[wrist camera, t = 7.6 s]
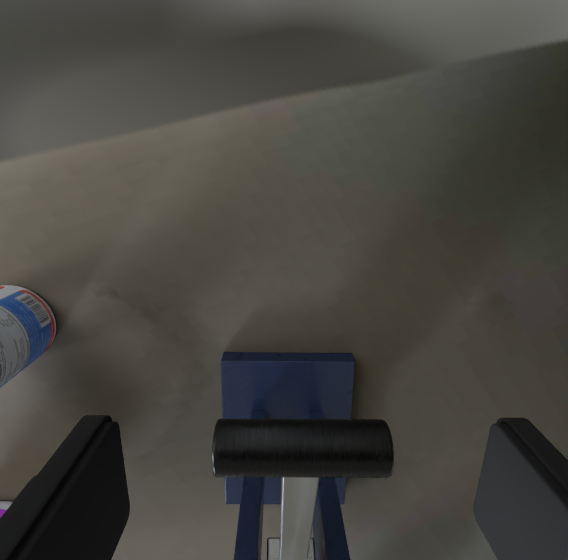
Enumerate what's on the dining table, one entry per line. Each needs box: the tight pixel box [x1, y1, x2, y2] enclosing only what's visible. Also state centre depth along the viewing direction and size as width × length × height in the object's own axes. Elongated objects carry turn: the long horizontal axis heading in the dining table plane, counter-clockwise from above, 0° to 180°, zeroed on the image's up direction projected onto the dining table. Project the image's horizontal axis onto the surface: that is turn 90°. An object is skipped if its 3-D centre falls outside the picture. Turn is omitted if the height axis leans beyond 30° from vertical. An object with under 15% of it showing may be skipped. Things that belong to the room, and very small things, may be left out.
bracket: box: [221, 352, 355, 560], centre depth 22 cm, size 12×9×13 cm
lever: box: [212, 419, 394, 560], centre depth 14 cm, size 13×5×2 cm, turn 179°
